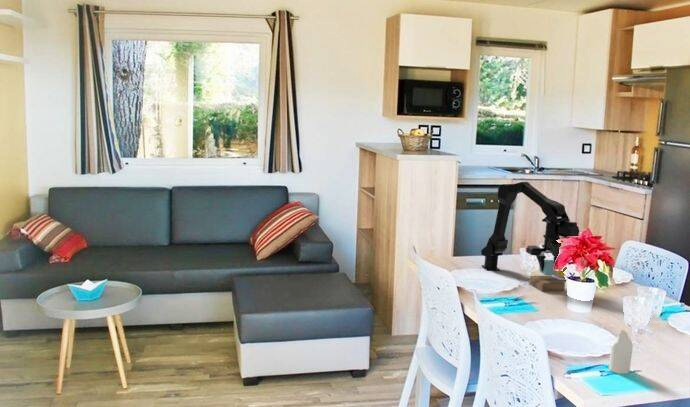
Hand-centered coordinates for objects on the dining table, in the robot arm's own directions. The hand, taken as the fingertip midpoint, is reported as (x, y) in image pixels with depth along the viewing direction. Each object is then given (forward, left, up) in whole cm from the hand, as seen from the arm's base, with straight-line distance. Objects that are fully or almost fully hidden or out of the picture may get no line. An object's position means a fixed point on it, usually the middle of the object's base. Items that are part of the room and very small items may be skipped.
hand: (548, 271), depth 255 cm
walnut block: (0, 0, -8) cm, 8 cm away
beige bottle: (+76, -14, -7) cm, 78 cm away
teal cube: (0, 0, -1) cm, 1 cm away
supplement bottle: (-13, +13, -7) cm, 20 cm away
